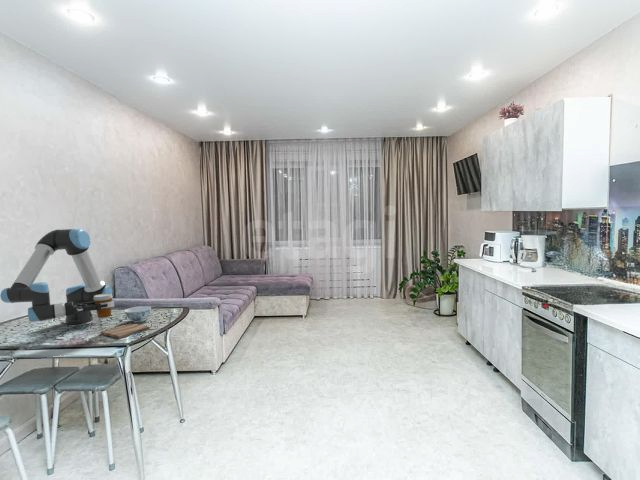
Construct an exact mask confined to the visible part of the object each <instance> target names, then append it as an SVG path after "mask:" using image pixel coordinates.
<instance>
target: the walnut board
mask: <svg viewBox="0 0 640 480" xmlns="http://www.w3.org/2000/svg"><path fill="white" fill-rule="evenodd" d="M149 330H150V326H147V325H142V324H138V323H134V322H130V323H127V324H123V325H119V326H115V327H112V328H109V329H106V330H102V331H100V334H101V335H103V336H107V337H112V338H114V339H119V338H120V339H123V338H127V337H129V336H132V335H135V334H138V333H141V332H146V331H149ZM122 337H123V338H122Z"/></svg>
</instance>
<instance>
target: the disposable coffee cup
mask: <svg viewBox="0 0 640 480" xmlns="http://www.w3.org/2000/svg"><path fill="white" fill-rule="evenodd" d="M93 299H94V302H95V304H100V303H107V302H113V293H112V294H109V293H108V294H99V295H95V296H94V298H93ZM96 313H97V314H96V315H97V318H98V319H103V318H109V317H111V316H112V307H108V308H102V309H101V310H96Z"/></svg>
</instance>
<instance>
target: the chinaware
mask: <svg viewBox="0 0 640 480" xmlns="http://www.w3.org/2000/svg"><path fill="white" fill-rule="evenodd" d="M151 311H152V307H151V306H148V305H141V306H140V305H139V306H134V307H129V308H126V309H124V314H125V316H126V317H127V318H128V319H129V320H130V321H132V323H133V324H138V323H142V322H145V321H146V319H147V318H148V316H149V315H150V313H151Z"/></svg>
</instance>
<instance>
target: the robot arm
mask: <svg viewBox="0 0 640 480" xmlns="http://www.w3.org/2000/svg"><path fill="white" fill-rule="evenodd" d="M90 245H91V236H90V234H89V233H88V232H87V231H86V230H85V229H81V228H69V229H66V228H65V229H64V228H63V229H54V230H52V231H51V230H50V231H49V232H47V233H46V234H45V235H43V236H42V237H41V238H40V239H39V240H38V241H37V243H36V245H34V249H35V250H34V251H33V252H32V254H31V256H30V257H29V259H28V260H27V262H26V264H25V265H24V267H23V268H22V269H21V271H20V273H19V274H18V275H17V277H16V278H15V280H14V281H13V283H12V285H11V287H7V288H4V289H2V290H1V292H0V300H1V301H2V302H3V303H7V304H14V303H31V306H30V307H28V308H27V317H28V321H29V322H30V323H33V322H42V321H43V322H44V321H49V320H54V319H58V320H60V319H61V318H65V320H64V321H65V322H64V323H65V324H66V325H77V324H78V325H80V324H85V323H88V322H90V321H93V320H94V315H93V313H92V311H97V310H101V309H102V308H108V307H111V308H114V307H115V300H114V301H113V300H112V302H107V303H100V304H95V302H94V299H93V298H94V296H95V295H99V294H108V293H109V294H112V295H113V288H112V287H111V285H106V283H105V281H104V280H101V279H100V276H99V274H98V272H97V269H96V267H95V265H94V262H93V260H92V258H91V255H90V253H89V251H88V250H89V249H90ZM58 250H60V251H61V250H65V252H66V254H67V255H68V256H71V258H72V260H73V262H74V264H75V267H76V268H77V271H78V272H79V275H80V277H81V279H82V281H83V284H78V285H73V286H70V287H67V288H66V289H65V298H66V302H65V303H63V302H59V303H58V302H57V303H54V304H53V303H52V304H51V300H50V299H51V298H50V297H51V296H50V287H49V284H48V282H46V281H43V282H35V280H36V279H37V277H38V275H39V274H40V272H41V271H42V270H43V268H44V266H45V264H46V263H47V261H48V260H49V258H50V256H53V255H54V253H56V251H58Z"/></svg>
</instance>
